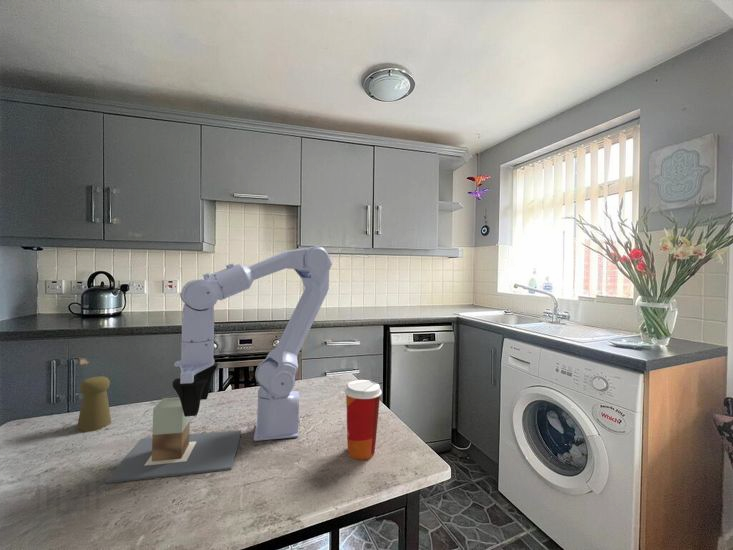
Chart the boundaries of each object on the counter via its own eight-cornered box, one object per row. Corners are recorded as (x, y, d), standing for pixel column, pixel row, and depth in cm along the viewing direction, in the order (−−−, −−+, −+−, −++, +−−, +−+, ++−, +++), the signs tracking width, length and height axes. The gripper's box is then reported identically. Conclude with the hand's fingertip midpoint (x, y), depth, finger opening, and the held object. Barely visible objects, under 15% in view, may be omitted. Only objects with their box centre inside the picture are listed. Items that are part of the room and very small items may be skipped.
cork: (91, 433, 70) (92, 383, 70) (69, 430, 71) (70, 380, 71) (117, 421, 76) (118, 375, 76) (97, 417, 77) (98, 372, 77)
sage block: (189, 420, 66) (190, 396, 66) (181, 432, 61) (182, 406, 61) (162, 422, 65) (163, 398, 65) (152, 435, 60) (153, 408, 60)
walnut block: (189, 444, 66) (189, 420, 66) (181, 458, 61) (181, 432, 61) (162, 446, 65) (162, 422, 65) (151, 461, 60) (152, 435, 60)
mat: (241, 431, 73) (241, 429, 73) (231, 469, 59) (231, 466, 59) (141, 440, 68) (141, 438, 68) (105, 483, 54) (105, 480, 54)
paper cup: (361, 438, 72) (363, 376, 71) (387, 453, 66) (389, 386, 66) (334, 451, 66) (336, 384, 66) (359, 468, 61) (362, 395, 61)
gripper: (187, 332, 70) (185, 394, 70) (161, 349, 56) (160, 425, 56) (221, 331, 71) (220, 392, 72) (205, 347, 57) (204, 422, 58)
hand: (196, 406), depth 64 cm, fingers open, 7 cm apart
